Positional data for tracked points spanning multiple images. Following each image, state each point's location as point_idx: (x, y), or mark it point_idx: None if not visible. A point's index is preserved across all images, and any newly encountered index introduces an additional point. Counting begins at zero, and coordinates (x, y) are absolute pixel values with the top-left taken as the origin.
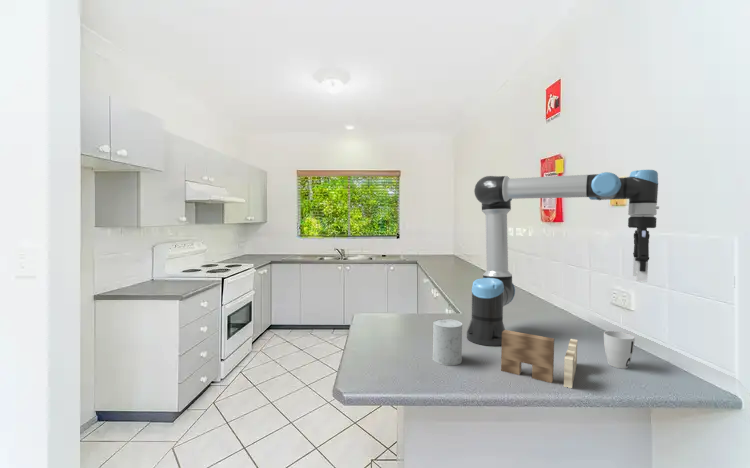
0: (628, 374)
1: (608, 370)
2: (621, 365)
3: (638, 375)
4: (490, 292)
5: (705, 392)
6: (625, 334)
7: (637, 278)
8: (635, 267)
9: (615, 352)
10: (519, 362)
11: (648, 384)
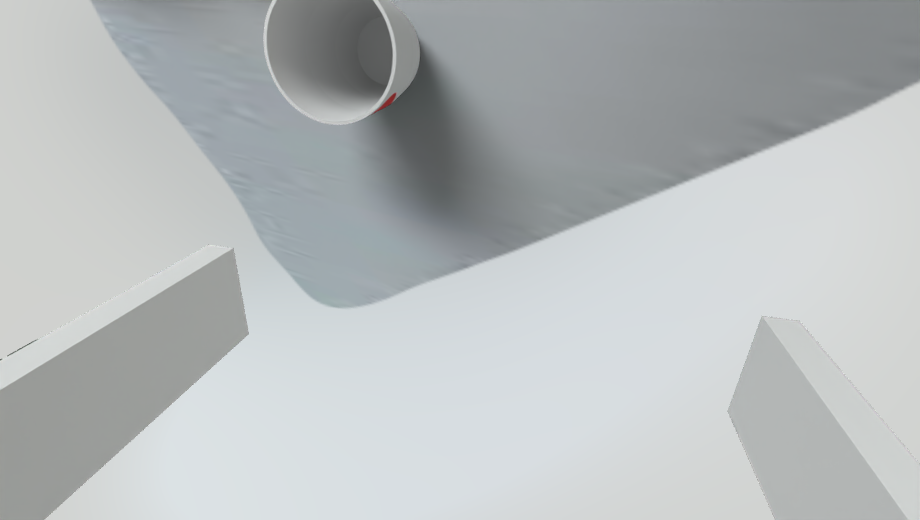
0: None
1: None
2: (348, 61)
3: None
4: None
5: (311, 265)
6: (387, 90)
7: (186, 265)
8: (822, 443)
9: (310, 34)
10: None
11: (265, 130)
